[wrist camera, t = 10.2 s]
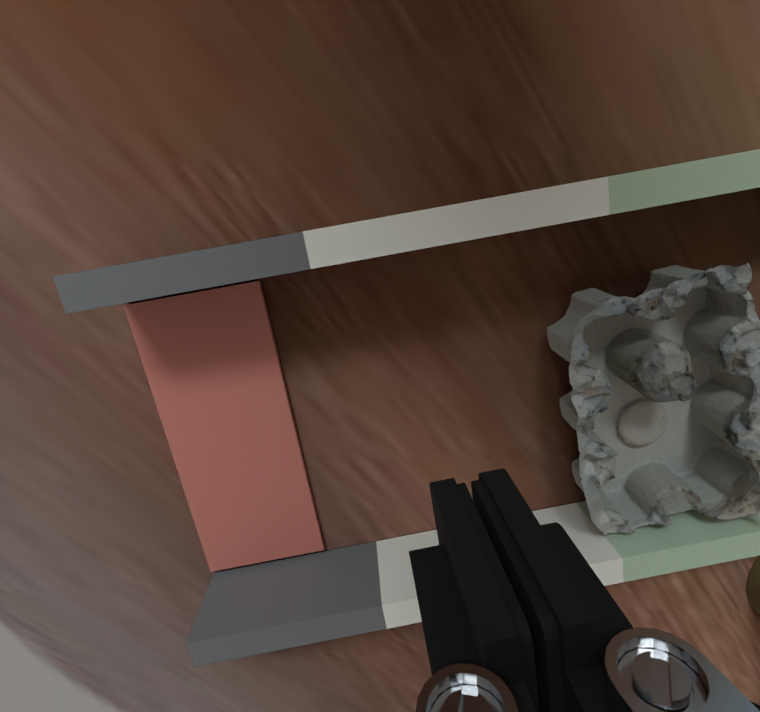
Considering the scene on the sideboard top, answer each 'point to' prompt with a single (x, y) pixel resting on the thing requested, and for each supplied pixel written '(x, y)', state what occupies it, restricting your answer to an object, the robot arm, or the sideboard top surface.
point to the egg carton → (665, 397)
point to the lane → (279, 436)
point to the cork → (754, 586)
